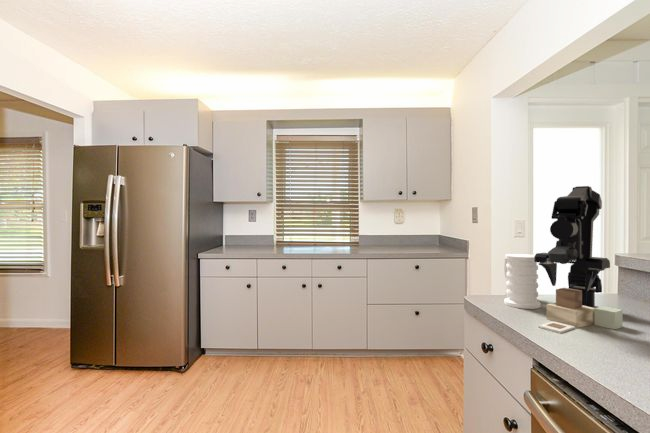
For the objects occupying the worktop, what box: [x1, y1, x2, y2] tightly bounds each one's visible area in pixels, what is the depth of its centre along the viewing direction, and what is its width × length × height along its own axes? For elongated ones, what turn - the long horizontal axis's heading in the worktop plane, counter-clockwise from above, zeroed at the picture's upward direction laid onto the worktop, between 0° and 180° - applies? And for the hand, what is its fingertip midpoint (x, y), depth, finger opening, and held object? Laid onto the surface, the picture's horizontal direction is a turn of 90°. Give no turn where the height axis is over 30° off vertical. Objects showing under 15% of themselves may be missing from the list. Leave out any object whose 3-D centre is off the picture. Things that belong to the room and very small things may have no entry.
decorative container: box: [504, 253, 542, 310], centre depth 129 cm, size 12×12×18 cm
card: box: [538, 321, 576, 334], centre depth 103 cm, size 8×6×1 cm
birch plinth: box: [546, 302, 595, 329], centre depth 109 cm, size 9×9×5 cm
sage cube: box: [594, 305, 623, 330], centre depth 104 cm, size 5×5×5 cm
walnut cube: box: [555, 287, 582, 309], centre depth 109 cm, size 5×5×5 cm
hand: (569, 288), depth 109 cm, fingers open, 9 cm apart
